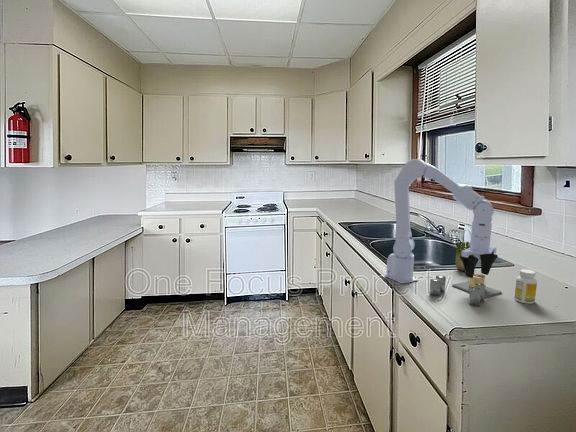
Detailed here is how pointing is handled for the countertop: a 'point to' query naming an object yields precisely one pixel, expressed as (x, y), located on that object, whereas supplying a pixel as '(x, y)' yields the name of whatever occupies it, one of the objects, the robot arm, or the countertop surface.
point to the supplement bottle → (526, 287)
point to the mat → (466, 288)
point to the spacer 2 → (441, 282)
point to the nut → (476, 280)
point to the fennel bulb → (458, 260)
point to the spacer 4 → (482, 287)
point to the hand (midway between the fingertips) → (477, 275)
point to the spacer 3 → (475, 296)
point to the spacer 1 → (434, 287)
